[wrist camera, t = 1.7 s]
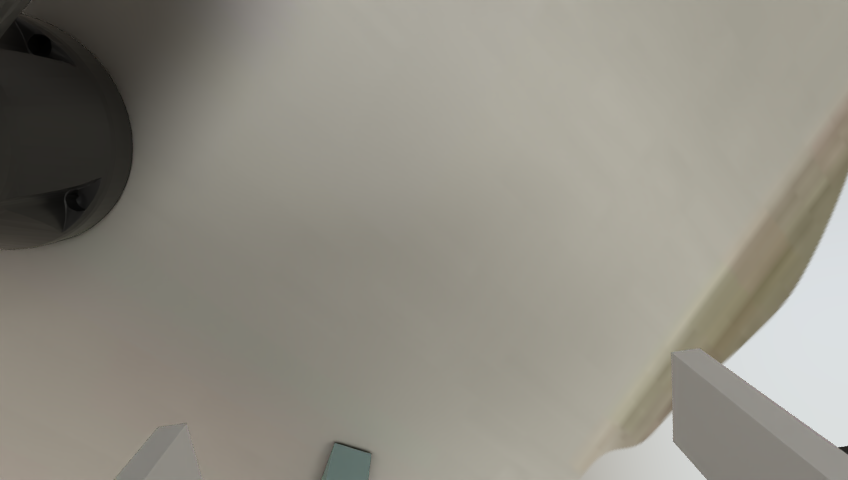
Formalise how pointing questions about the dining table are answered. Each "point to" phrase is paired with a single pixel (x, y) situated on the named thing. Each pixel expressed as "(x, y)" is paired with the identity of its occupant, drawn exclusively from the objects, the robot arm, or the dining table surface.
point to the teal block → (347, 464)
